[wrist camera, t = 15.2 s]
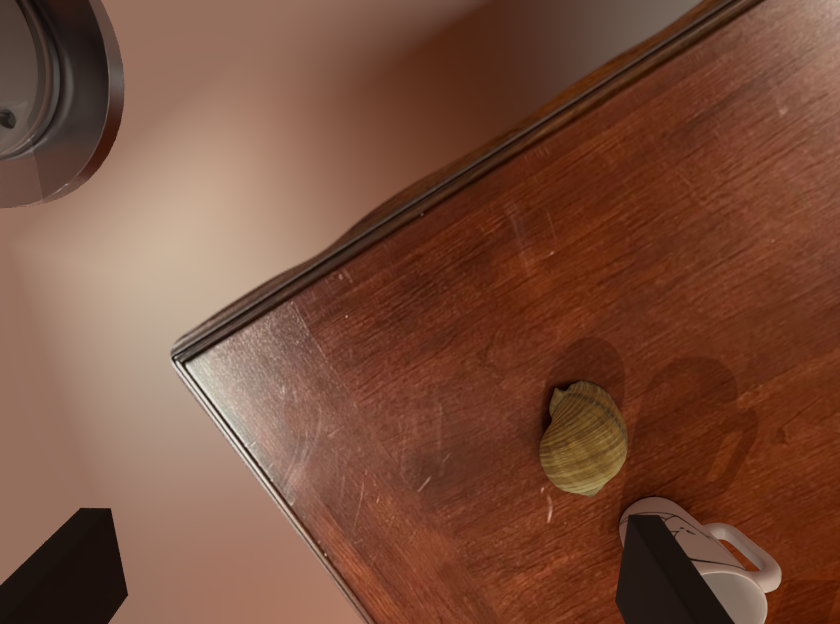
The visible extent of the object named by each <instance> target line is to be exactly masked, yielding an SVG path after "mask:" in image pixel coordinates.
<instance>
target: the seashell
mask: <svg viewBox="0 0 840 624" xmlns="http://www.w3.org/2000/svg"><path fill="white" fill-rule="evenodd" d="M549 410H550V415H551V417H552V422H551V424H550V426H549V427H548V428H547V430H546V432H545V433H544V435H543V437H542V440H541V443H540V448H539V455H540V460H541V464H542V468H543V469H544V471H545V473H546V475H547V476H548V478H549V479H550V480H551V482H552V483H553V484H555V485H556V486H557V487H558V488H560V489H562V490H563V491H567V492H572V493H579V494H581V495H586V496H589V497H594V496H595V494H596V493H597V492H598V491H599V490H600V489H601V488H602V487H603V486H604V484H605V483H606V482H608V481H609V480H610V479H611V478H613V477H614V476H615V475H616V474H617V473H618V472H619V470H620V468H621V466H622V464H623V463H624V461H625V459H626V454H627V449H628V447H627V444H628V438H627V433H628V432H627V428H626V423H625V421H624V420H623V416H622V414H621V413H620V410H619V408H618V407H617V406H616V403H615V402H614V401H613V399H612V398H611V396H610V395H609V394H608V393H607V391H606V390H605V389H603V388H601V387H600V386H598V385H596V384H595V383H591V382H589V381H583V380H582V381H579V382H577V383H575V384H572V385H571V386H569V388H568V390H566V391H562V390H559V389H558V388H555V390H554V394H553V396H552V399H551V402H550V407H549Z"/></svg>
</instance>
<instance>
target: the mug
mask: <svg viewBox="0 0 840 624" xmlns="http://www.w3.org/2000/svg"><path fill="white" fill-rule="evenodd" d="M629 515H659V516H660V517H661V519H662V520H663V521H664V523H665V524H666V526H667V527H668V529H669V530H670V531H671V533H672V534H673V536H674V537H675V539H676V540H677V541H678V543H679V544H680V546H681V547H682V549H683V550H684V551H685V553H686V554H687V556H688V557H689V559H690V560H691V561H692V563H693V564H694V566H695V567H696V569H697V570H698V571H699V573H700V574H701V576H702V577H703V579H704V580H705V581H706V583H707V584H708V586H709V587H710V589H711V590H712V591H713V593H714V594H715V596H716V597H717V599H718V600H719V601H720V603H721V604H722V606H723V607H724V609H725V610H726V611H727V613H728V614H729V616H730V617H731V619H732V620H733V622H734V623H735V624H764V621H765V619H766V615H767V601H766V597H765V594H764V593H766V592H770V591H773V590H775V589H776V588H777V587H778V586H779V584H780V582H781V569H780V567H779V565H778V564H777V562H776V561H775V560H774V559H773V558H772V557H771V556H770V555H769V554H768V553H767V552H765V551H764V550H763V549H761V548H760V547H759V546H757V545H756V544H755V543H754V542H752V541H751V540H750V539H749V538H747V537H746V536H745V535H744V534H743V533H741V532H740V531H739V530H738V529H736V528H735V527H733V526H731V525H728V524H725V523H710V524H705V525H701V524H700V523H699V522H697V521H696V520H695V519H694V518H693V517H692V516H690V515H689V514H688V513H687V512H686V511H685V510H683V509H682V508H681V507H680V506H678V505H677V504H676V503H674V502H672V501H670V500H668V499H665V498H660V497H649V498H645V499H641V500H639V501H637V502H635V503H633V504H632V505H631V506H629V507H628V508H627V509H626V511H625V512H624V513H623V515H622V517H621V520H620V524H619V532H620V537H621V541H622V544H623V548H624V541H625V535H626V528H627V522H628V516H629ZM717 539H723V540H727V541H728V542H730V543H731V544H733V545H734V546H735V547H736V548H737V549H738V550H739V551H740V552H741V553H742V554H744V555H745V556H746V557H747V558H748V559H749V560H750V561H751V562H753V563H754V564H755V565H756V566H757V567H758V568H759V569H760V571H758V572H749V571H747V570H746V569H745V568H744V567H743V566H742V565H741V564H740V563H739V562H738V561H737V559H736V558H735V557H734V556H733V555H732V554H731V553H730V552H729V551H728V550H727V549H726V548H725V547H724V546H723V545H722V544H721V543H720V542H719V541H718V540H717Z"/></svg>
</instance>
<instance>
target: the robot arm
mask: <svg viewBox="0 0 840 624" xmlns="http://www.w3.org/2000/svg"><path fill="white" fill-rule="evenodd" d="M59 86H60V73H59V63H58V57H57V52H56V48H55V45H54V42H53V38H52V36H51V33H50V31H49V28H48V26H47V24H46V22H45V20H44V18H43V16H42V14H41V13H40V11H39V9H38V8H37V6H36V5H35V3H34V2H33V0H0V159H3V158H6V157H10V156H13V155H15V154H18V153H19V152H21V151H23V150H25V149H26V148H28V147H29V146H31V145H32V144H33V143H34V142H35V141H36V140H37V139H38V138H39V137H40V136H41V135H42V134H43V132H44V131H45V129H46V128H47V126H48V125H49V123H50V121H51V119H52V117H53V114H54V112H55V109H56V105H57V101H58V95H59ZM127 596H128V593H127V588H126V582H125V578H124V573H123V567H122V562H121V557H120V552H119V548H118V542H117V537H116V533H115V528H114V523H113V517H112V513H111V509H110V508H80V509H79V510H78V511H77V512H76V513H75V514H74V515H73V516H72V517H71V518H70V519H69V520H68V521H67V522H66V523H65V524H64V525H62V527H60V528H59V529H58V530H57V531H56V532H55V533H54V534H53V535H52V536H51V537H50V538H49V539H48V540H47V541H46V542H45V543H44V544H43V545H42V546H41V547H40V548H39V549H38V550H37V551H36V552H35V553H34V554H32V555H31V556H30V557H29V558H28V559H27V560H26V561H25V562H24V563H23V564H22V565H21V566H20V567H19V568H18V569H17V570H16V571H15V572H14V573H13V574H12V575H11V576H10V577H9V578H8V579H7V580H6V581H4V582H3V584H2V585H0V624H108V623H109V621H110V620H111V618H112V617H113V616H114V614H115V613H116V611H117V610H118V609H119V607H120V606H121V604H122V603H123V601H124V600H125V598H126V597H127ZM615 602H616V604H617V606H618V608H619V611H620V613H621V615H622V617H623V619H624V622H625V624H735V623H734V622H733V620H732V619H731V617H730V616H729V614H728V613H727V611H726V610H725V609H724V607H723V606H722V604H721V603H720V601H719V600H718V599H717V597H716V596H715V594H714V593H713V591H712V590H711V589H710V587H709V586H708V584H707V583H706V581H705V580H704V579H703V577H702V576H701V574H700V573H699V571H698V570H697V569H696V567H695V566H694V564H693V563H692V561H691V560H690V559H689V557H688V556H687V554H686V553H685V551H684V550H683V549H682V547H681V546H680V544H679V543H678V541H677V540H676V539H675V537H674V536H673V534H672V533H671V531H670V530H669V529H668V527H667V526H666V524H665V523H664V521H663V520H662V519H661V517H660V516H659V515H629V516H628V522H627V528H626V535H625V541H624V548H623V554H622V561H621V567H620V574H619V580H618V587H617V593H616V600H615Z"/></svg>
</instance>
